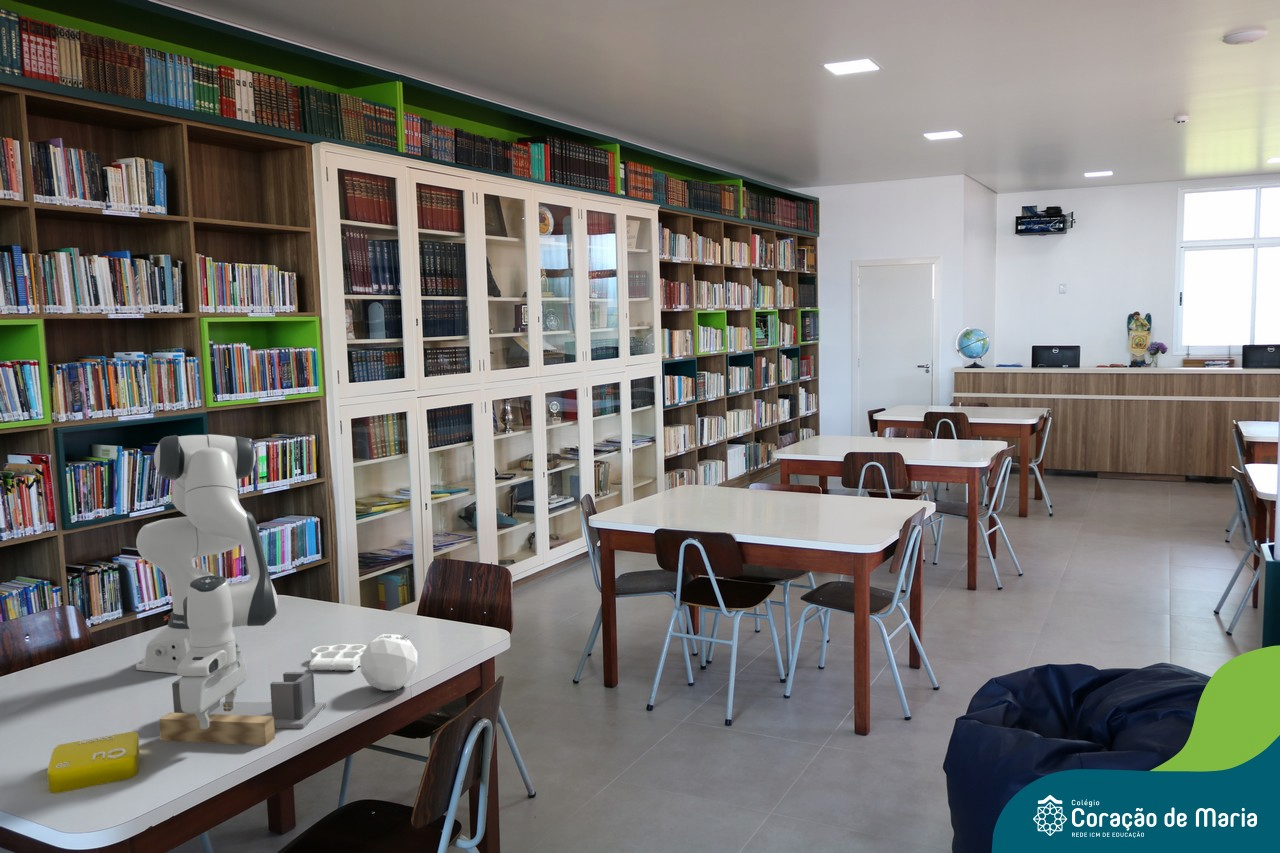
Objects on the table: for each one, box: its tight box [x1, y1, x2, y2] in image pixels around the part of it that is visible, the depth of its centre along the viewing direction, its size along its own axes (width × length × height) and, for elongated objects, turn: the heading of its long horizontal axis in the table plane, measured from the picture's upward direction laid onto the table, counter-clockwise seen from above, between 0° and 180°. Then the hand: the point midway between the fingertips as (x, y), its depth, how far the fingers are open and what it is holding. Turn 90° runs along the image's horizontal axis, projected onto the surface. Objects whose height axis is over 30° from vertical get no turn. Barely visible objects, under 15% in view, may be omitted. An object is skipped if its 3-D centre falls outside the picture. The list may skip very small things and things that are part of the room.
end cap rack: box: [171, 671, 327, 729], centre depth 214 cm, size 32×12×9 cm, turn 85°
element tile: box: [46, 731, 140, 794], centre depth 188 cm, size 15×15×5 cm
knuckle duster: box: [308, 643, 368, 671], centre depth 249 cm, size 3×18×15 cm
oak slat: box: [158, 712, 276, 746], centre depth 202 cm, size 24×4×5 cm, turn 81°
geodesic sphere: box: [360, 633, 419, 692], centre depth 229 cm, size 14×14×14 cm
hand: (217, 718), depth 201 cm, fingers open, 8 cm apart
